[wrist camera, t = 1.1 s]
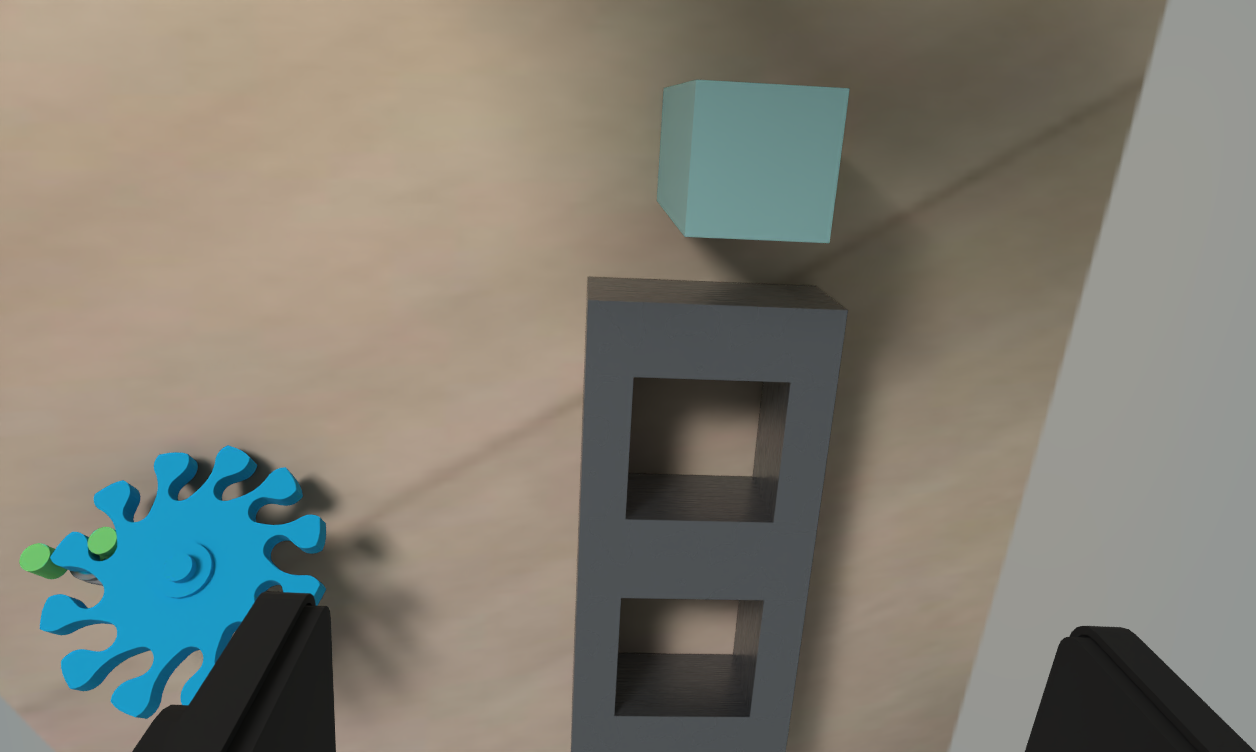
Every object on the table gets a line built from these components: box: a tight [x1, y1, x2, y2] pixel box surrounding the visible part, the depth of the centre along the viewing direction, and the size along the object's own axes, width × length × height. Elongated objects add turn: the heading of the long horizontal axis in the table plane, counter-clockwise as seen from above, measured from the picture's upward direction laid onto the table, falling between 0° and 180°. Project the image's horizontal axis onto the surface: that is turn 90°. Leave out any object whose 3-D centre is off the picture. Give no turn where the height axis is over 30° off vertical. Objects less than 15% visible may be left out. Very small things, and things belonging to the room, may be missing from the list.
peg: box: [657, 80, 850, 243], centre depth 26 cm, size 4×4×9 cm
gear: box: [20, 445, 326, 719], centre depth 32 cm, size 11×6×10 cm
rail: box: [571, 277, 848, 752], centre depth 33 cm, size 20×9×4 cm, turn 177°
